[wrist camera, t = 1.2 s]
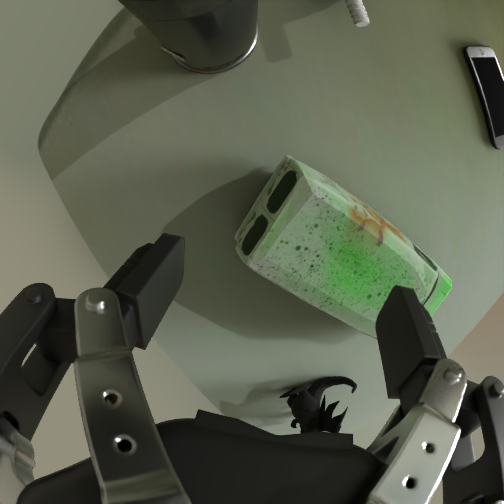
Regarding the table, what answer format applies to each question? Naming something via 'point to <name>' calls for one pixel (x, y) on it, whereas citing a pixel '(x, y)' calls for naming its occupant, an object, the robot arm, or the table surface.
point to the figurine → (316, 406)
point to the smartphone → (489, 88)
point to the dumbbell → (358, 12)
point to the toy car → (333, 248)
